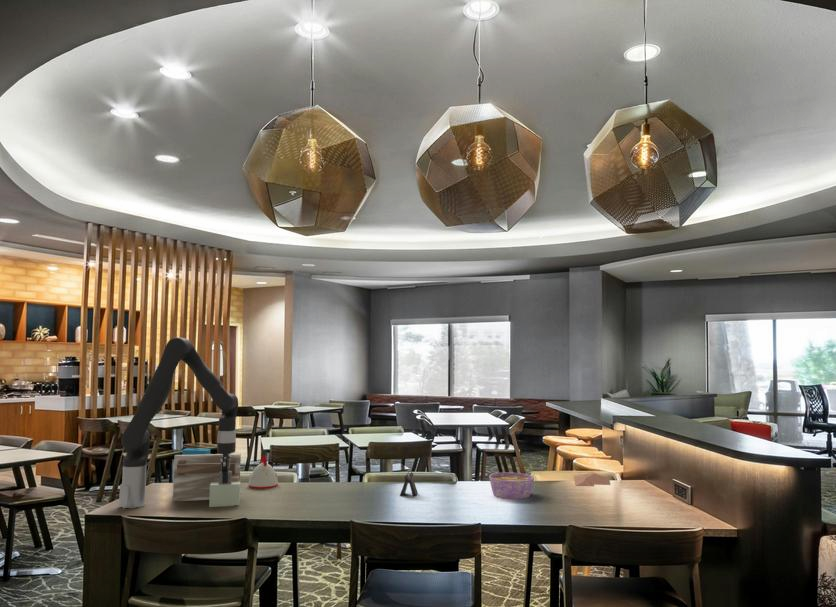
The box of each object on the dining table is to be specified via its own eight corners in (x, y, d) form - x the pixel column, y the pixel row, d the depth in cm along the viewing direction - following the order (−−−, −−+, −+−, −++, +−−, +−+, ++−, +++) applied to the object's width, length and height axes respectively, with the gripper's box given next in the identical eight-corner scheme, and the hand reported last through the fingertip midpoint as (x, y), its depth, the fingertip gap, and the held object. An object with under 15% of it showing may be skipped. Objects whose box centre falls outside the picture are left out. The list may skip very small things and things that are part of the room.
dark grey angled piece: (397, 501, 285) (398, 474, 286) (400, 498, 291) (400, 471, 292) (417, 502, 283) (418, 475, 284) (419, 499, 289) (420, 472, 290)
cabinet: (238, 508, 270) (239, 472, 271) (209, 509, 267) (210, 472, 268) (240, 502, 280) (241, 467, 281) (212, 503, 278) (213, 468, 279)
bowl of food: (480, 500, 289) (480, 474, 290) (516, 496, 298) (516, 471, 299) (506, 510, 271) (506, 482, 272) (543, 505, 280) (543, 478, 281)
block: (209, 492, 298) (211, 449, 300) (205, 495, 293) (206, 450, 295) (185, 491, 299) (186, 448, 301) (180, 494, 294) (181, 450, 296)
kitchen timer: (252, 491, 302) (253, 459, 303) (245, 485, 314) (246, 454, 315) (281, 488, 308) (282, 457, 309) (273, 483, 320) (274, 453, 322)
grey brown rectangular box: (238, 502, 279) (239, 456, 281) (170, 504, 274) (172, 457, 276) (240, 496, 292) (241, 451, 293) (175, 498, 287) (177, 452, 288)
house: (615, 485, 327) (615, 469, 328) (620, 499, 295) (620, 481, 296) (569, 482, 332) (569, 466, 333) (569, 496, 300) (569, 479, 301)
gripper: (234, 443, 266) (232, 485, 265) (237, 438, 279) (235, 479, 278) (215, 443, 265) (214, 486, 263) (219, 439, 278) (217, 479, 277)
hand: (225, 482), depth 271 cm, fingers closed on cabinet
